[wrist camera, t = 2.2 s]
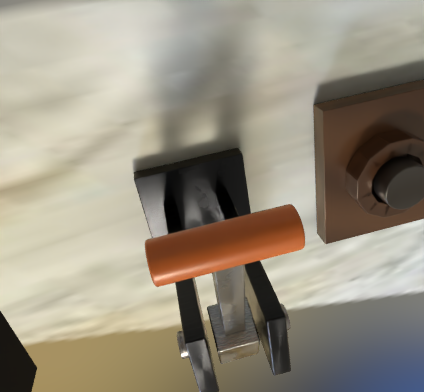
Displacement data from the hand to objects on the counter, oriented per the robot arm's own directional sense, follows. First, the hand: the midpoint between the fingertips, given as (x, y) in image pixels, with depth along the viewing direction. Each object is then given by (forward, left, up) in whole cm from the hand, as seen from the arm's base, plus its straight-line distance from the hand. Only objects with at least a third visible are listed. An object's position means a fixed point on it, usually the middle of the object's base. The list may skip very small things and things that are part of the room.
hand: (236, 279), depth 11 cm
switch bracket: (+9, 0, -18) cm, 20 cm away
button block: (+8, +15, -18) cm, 25 cm away
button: (+8, +15, -15) cm, 22 cm away
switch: (+4, 0, -5) cm, 6 cm away
